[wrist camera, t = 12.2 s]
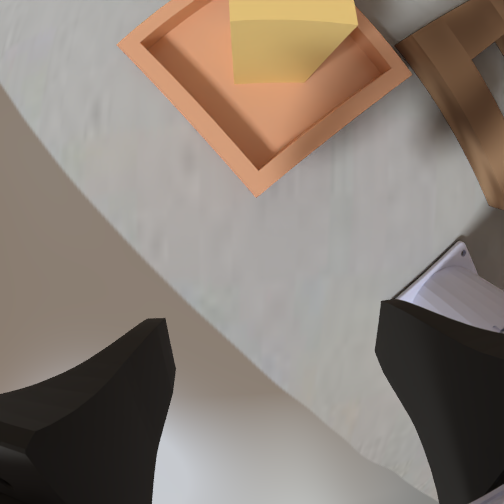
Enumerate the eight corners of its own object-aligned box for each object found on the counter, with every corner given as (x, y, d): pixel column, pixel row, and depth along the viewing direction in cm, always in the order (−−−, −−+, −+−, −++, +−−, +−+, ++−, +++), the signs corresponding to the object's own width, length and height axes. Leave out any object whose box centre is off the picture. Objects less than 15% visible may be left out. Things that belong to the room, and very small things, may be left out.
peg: (298, 23, 15) (340, -60, 7) (304, 82, 16) (357, 25, 8) (230, 24, 15) (225, -65, 7) (234, 84, 16) (229, 21, 8)
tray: (394, 82, 17) (412, 74, 15) (254, 192, 19) (256, 197, 17) (274, -43, 14) (278, -62, 12) (129, 56, 16) (116, 44, 14)
